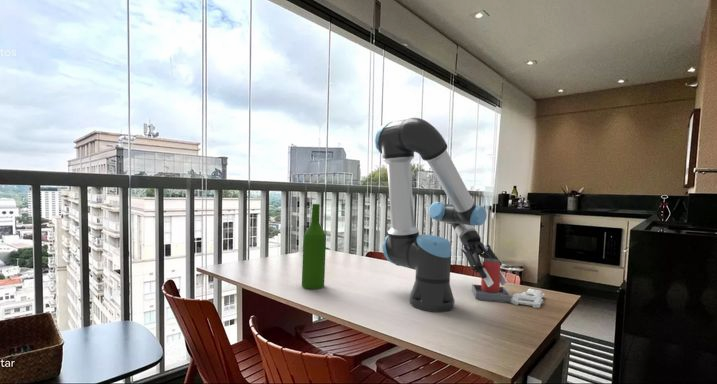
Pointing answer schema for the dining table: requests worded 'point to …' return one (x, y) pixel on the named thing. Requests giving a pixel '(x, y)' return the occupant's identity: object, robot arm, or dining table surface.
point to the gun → (528, 298)
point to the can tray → (491, 294)
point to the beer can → (491, 275)
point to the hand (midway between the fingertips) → (498, 284)
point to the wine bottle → (314, 253)
